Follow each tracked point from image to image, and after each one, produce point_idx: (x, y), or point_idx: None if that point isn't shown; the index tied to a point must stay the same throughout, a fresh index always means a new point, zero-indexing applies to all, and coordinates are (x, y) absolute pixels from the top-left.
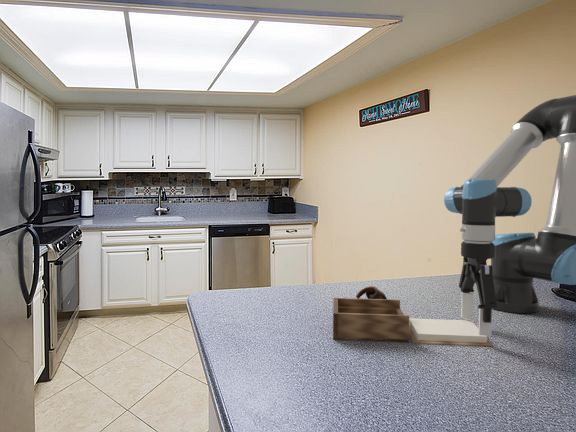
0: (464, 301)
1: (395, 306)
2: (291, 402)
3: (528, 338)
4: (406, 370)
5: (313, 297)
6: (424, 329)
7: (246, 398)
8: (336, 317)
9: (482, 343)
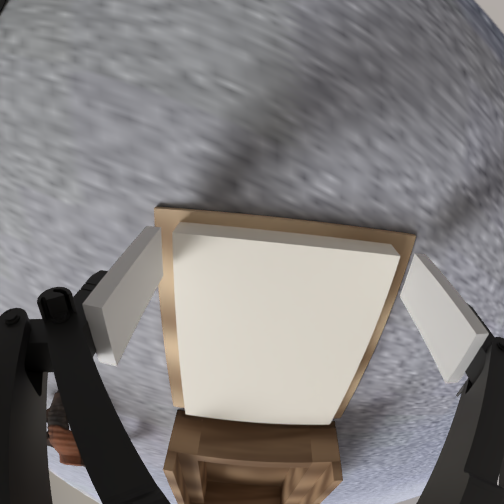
0: (134, 318)
1: (177, 460)
2: None
3: (334, 23)
4: (446, 422)
5: None
6: (296, 409)
7: None
8: None
9: None
